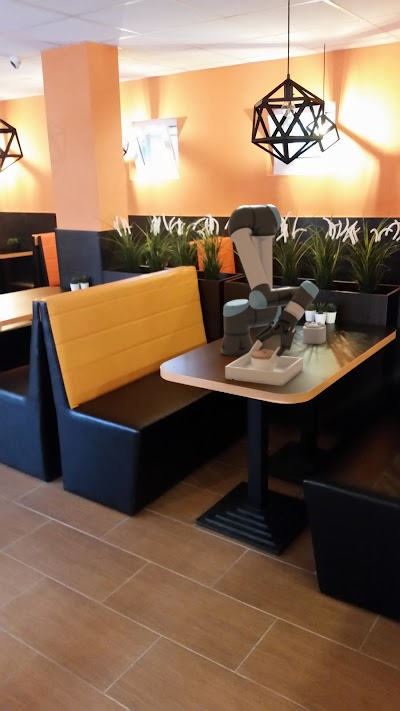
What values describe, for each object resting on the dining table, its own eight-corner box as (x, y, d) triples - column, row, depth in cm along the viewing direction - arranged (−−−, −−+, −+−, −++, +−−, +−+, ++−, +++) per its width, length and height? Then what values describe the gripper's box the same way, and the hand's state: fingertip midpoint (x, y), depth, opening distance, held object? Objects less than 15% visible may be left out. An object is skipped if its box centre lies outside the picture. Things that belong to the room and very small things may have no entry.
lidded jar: (271, 377, 229) (271, 353, 227) (246, 373, 235) (246, 351, 232) (282, 369, 238) (282, 347, 236) (258, 366, 243) (258, 344, 241)
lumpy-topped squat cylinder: (301, 343, 281) (301, 325, 279) (306, 336, 293) (306, 319, 291) (323, 344, 278) (323, 326, 275) (327, 337, 289) (328, 320, 287)
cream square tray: (225, 378, 233) (225, 366, 232) (248, 363, 251) (248, 352, 250) (282, 385, 222) (282, 373, 220) (302, 369, 240) (302, 357, 239)
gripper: (316, 326, 228) (286, 370, 225) (277, 316, 249) (248, 356, 246) (306, 314, 224) (275, 360, 221) (266, 305, 245) (237, 346, 242)
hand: (261, 358), depth 234 cm, fingers open, 13 cm apart
